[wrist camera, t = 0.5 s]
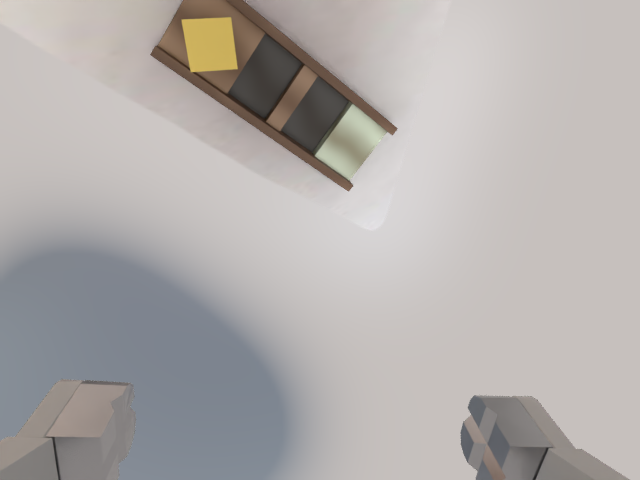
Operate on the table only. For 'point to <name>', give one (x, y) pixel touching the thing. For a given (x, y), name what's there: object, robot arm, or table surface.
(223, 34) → the mustard block
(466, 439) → the robot arm
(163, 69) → the table surface
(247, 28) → the board
